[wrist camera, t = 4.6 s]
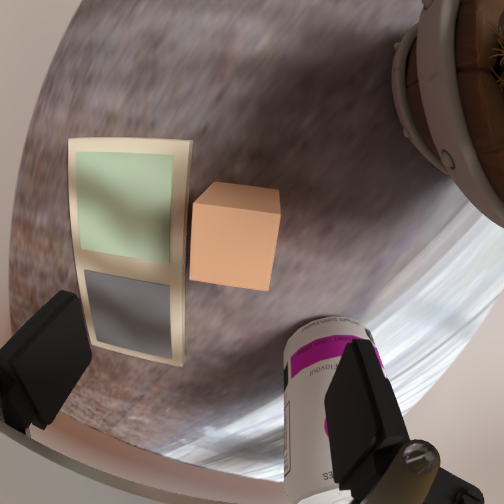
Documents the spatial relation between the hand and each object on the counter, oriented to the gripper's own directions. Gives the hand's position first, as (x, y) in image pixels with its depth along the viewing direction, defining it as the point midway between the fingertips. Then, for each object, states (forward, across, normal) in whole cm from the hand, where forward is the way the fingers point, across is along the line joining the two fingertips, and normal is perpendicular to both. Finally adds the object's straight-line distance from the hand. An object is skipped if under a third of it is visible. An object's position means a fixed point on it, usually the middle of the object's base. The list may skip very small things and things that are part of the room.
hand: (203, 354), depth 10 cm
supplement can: (+14, -9, +10) cm, 19 cm away
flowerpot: (+13, -14, -13) cm, 23 cm away
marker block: (+13, 0, -1) cm, 13 cm away
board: (+14, +9, +4) cm, 17 cm away
